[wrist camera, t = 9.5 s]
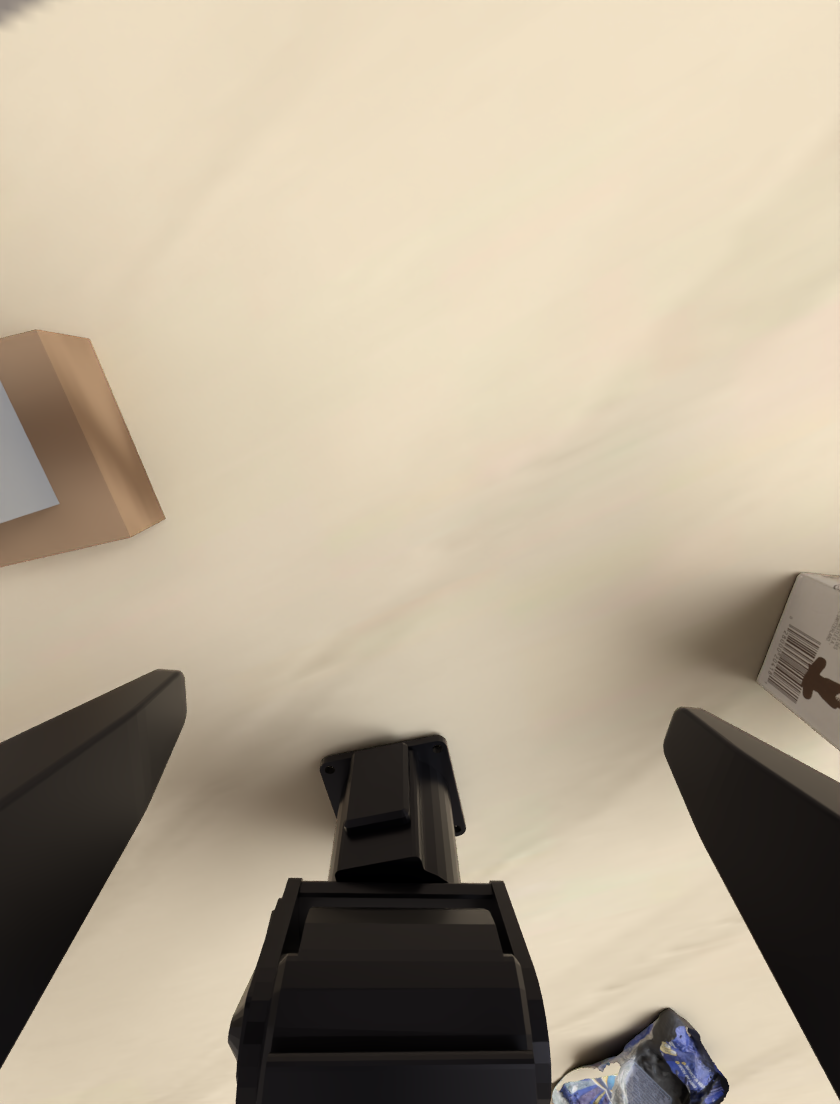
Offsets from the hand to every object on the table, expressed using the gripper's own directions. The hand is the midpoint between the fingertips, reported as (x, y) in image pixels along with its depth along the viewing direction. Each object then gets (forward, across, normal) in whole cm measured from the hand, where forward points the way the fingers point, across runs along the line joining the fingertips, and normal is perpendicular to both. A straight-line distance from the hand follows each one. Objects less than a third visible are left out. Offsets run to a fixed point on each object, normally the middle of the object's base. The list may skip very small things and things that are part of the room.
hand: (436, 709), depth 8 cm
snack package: (+13, -20, +39) cm, 45 cm away
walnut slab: (+12, +15, -2) cm, 19 cm away
